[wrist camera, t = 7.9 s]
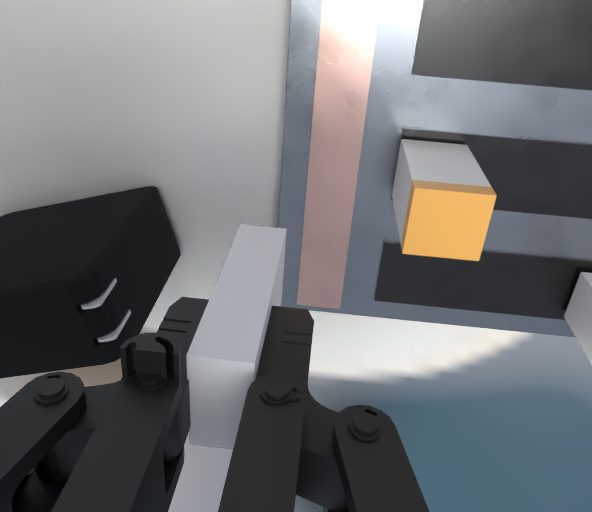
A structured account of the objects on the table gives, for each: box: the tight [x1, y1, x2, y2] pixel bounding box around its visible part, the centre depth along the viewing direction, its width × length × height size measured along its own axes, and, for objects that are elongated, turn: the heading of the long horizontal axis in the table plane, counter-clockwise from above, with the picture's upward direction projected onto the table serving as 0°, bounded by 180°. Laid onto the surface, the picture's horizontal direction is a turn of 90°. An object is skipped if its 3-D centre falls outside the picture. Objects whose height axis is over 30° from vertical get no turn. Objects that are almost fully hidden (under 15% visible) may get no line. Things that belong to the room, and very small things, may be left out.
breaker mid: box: [392, 139, 497, 261], centre depth 24 cm, size 3×3×6 cm
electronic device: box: [0, 186, 180, 378], centre depth 28 cm, size 4×10×10 cm, turn 103°
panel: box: [278, 0, 592, 337], centre depth 27 cm, size 24×18×2 cm
